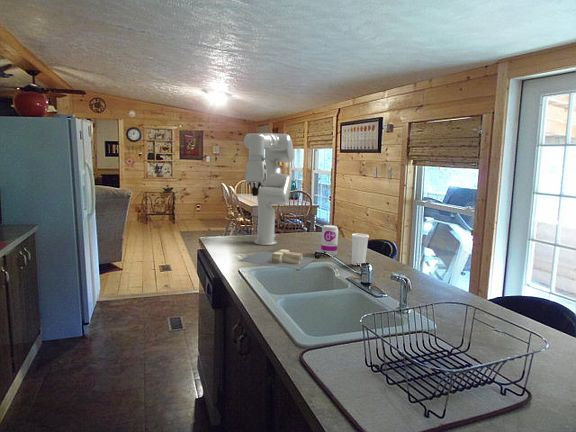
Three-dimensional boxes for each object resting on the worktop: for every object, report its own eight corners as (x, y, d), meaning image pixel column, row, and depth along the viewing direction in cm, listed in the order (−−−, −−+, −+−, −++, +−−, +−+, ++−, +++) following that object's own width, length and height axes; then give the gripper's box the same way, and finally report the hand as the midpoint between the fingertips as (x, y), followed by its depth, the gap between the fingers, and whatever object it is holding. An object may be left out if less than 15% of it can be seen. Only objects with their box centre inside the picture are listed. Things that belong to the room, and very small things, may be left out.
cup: (368, 264, 207) (370, 234, 205) (365, 267, 199) (367, 237, 197) (351, 262, 209) (353, 232, 207) (348, 265, 202) (349, 235, 200)
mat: (260, 251, 222) (260, 251, 222) (315, 259, 212) (315, 258, 212) (237, 261, 200) (237, 260, 200) (298, 270, 189) (298, 269, 189)
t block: (281, 257, 211) (282, 249, 211) (305, 260, 207) (305, 252, 206) (271, 262, 200) (271, 253, 200) (295, 265, 196) (296, 257, 195)
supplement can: (335, 257, 217) (337, 228, 215) (319, 256, 218) (321, 226, 216) (337, 254, 225) (339, 225, 223) (321, 252, 226) (323, 224, 224)
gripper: (273, 159, 216) (271, 196, 218) (246, 158, 221) (245, 194, 224) (266, 159, 209) (265, 197, 212) (239, 158, 214) (238, 195, 217)
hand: (255, 195), depth 218 cm, fingers closed
